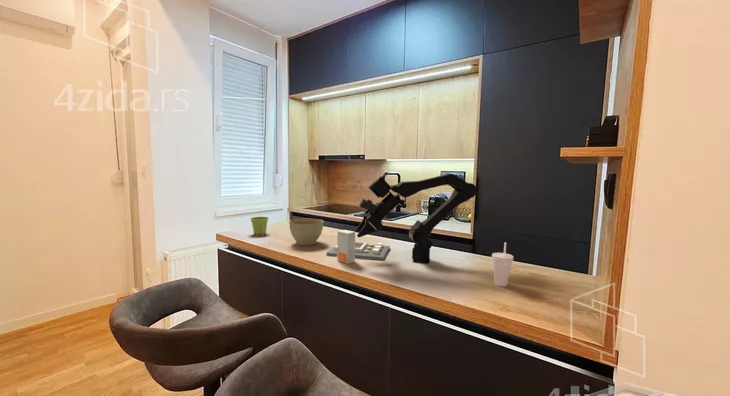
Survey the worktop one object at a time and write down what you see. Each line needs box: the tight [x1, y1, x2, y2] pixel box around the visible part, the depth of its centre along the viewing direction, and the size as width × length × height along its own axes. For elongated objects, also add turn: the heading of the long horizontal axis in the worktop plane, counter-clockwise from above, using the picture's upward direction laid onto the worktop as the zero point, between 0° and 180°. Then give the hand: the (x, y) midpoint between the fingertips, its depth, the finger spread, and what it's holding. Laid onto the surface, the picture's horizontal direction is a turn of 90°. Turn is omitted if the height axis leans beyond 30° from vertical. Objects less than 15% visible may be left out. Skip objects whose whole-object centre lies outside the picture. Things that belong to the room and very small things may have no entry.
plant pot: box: [249, 216, 270, 236], centre depth 161 cm, size 9×9×9 cm
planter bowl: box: [288, 218, 324, 246], centre depth 143 cm, size 16×16×11 cm
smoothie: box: [491, 242, 514, 288], centre depth 96 cm, size 6×6×14 cm
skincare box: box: [336, 229, 356, 265], centre depth 117 cm, size 6×4×12 cm
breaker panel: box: [325, 240, 390, 261], centre depth 131 cm, size 24×18×3 cm
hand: (357, 233), depth 117 cm, fingers open, 9 cm apart
